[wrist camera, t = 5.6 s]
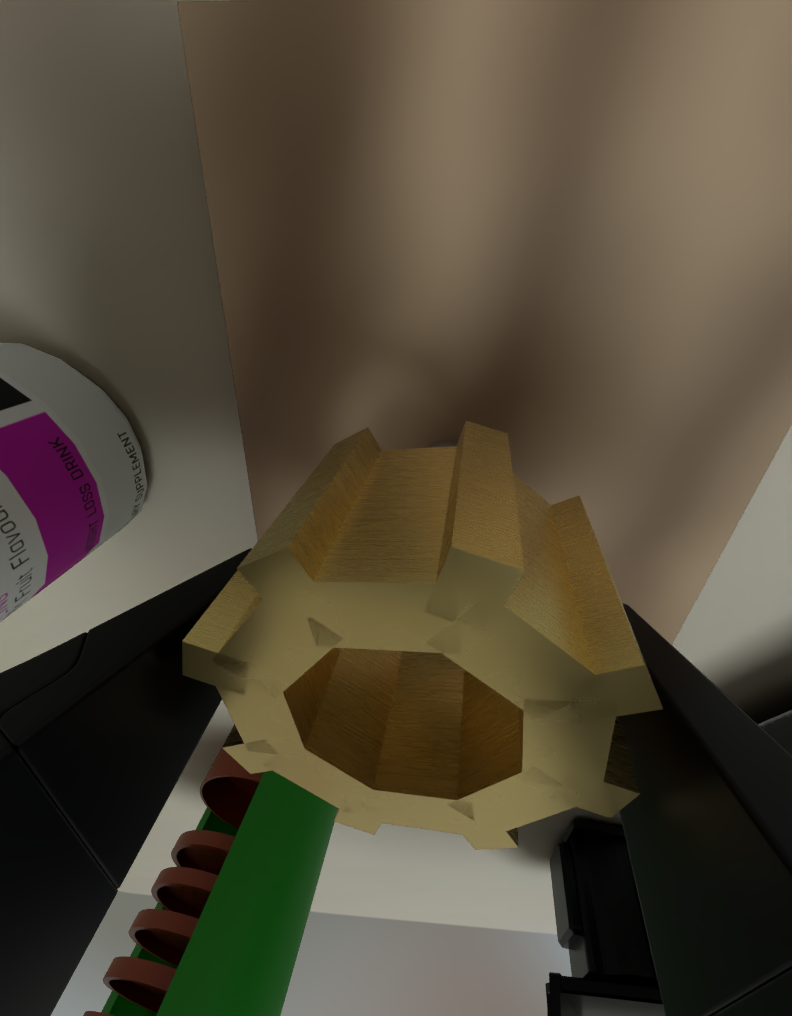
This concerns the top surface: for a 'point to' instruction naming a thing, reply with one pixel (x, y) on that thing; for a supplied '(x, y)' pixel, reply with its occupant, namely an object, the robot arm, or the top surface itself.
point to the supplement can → (58, 471)
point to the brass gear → (429, 646)
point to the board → (511, 249)
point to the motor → (227, 903)
